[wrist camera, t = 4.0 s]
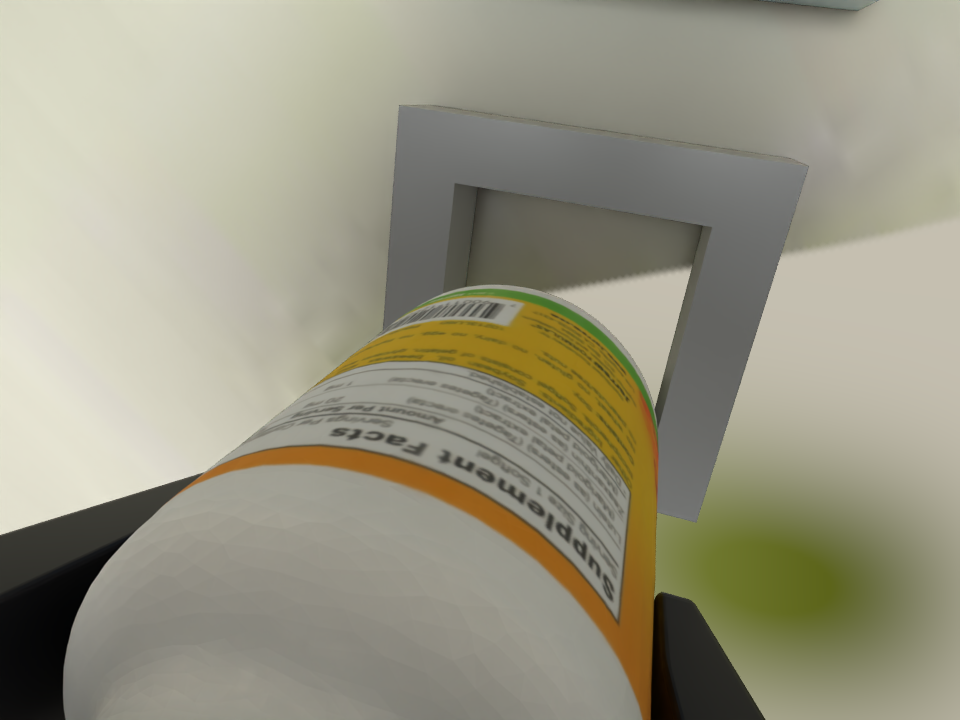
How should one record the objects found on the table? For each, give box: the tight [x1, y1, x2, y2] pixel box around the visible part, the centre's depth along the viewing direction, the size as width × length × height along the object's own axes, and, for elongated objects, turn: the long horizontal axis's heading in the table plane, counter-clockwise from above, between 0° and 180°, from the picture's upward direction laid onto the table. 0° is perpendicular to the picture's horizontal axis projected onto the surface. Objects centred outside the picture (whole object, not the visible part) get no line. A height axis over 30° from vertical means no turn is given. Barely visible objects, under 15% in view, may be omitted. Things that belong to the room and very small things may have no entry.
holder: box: [383, 105, 809, 522], centre depth 19 cm, size 10×10×2 cm
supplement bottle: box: [63, 285, 659, 720], centre depth 8 cm, size 5×5×10 cm
